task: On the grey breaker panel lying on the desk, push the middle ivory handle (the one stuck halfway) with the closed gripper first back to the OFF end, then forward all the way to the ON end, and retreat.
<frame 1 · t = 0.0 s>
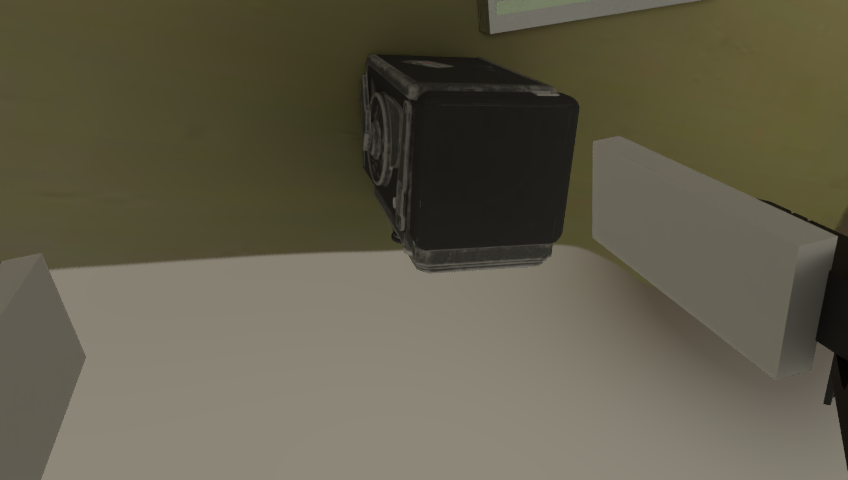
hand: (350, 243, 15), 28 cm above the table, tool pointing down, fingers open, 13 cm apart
camera: (417, 129, 44), on the table
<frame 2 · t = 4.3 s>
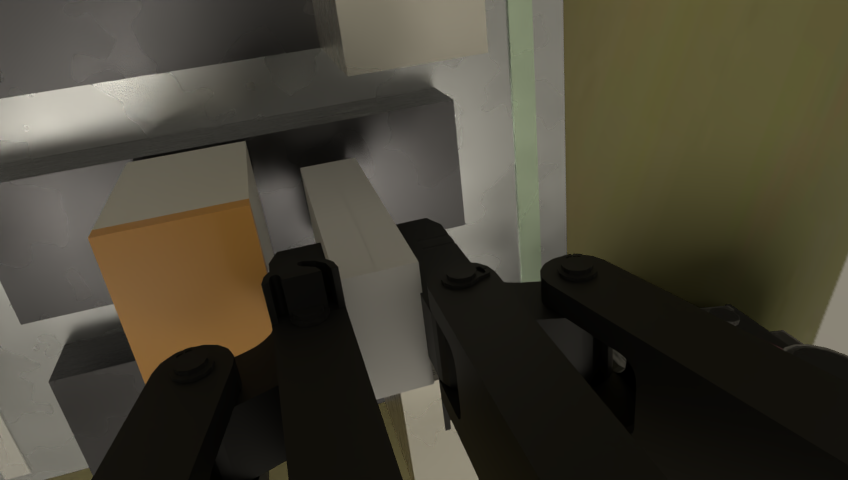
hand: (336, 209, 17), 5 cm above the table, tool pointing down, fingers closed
panel: (240, 167, 21), on the table
camera: (659, 366, 31), on the table
tripped breaker: (203, 258, 15), point 7 cm above the table, slide at -0.9 cm, touching gripper
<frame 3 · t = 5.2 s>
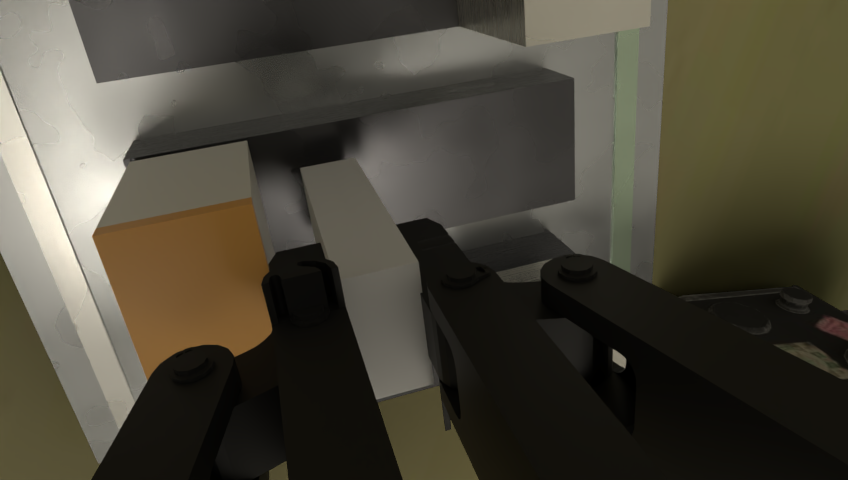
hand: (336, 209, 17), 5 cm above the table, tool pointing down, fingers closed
panel: (352, 146, 22), on the table
camera: (724, 346, 32), on the table
tripped breaker: (205, 257, 15), point 7 cm above the table, slide at -4.8 cm, touching gripper
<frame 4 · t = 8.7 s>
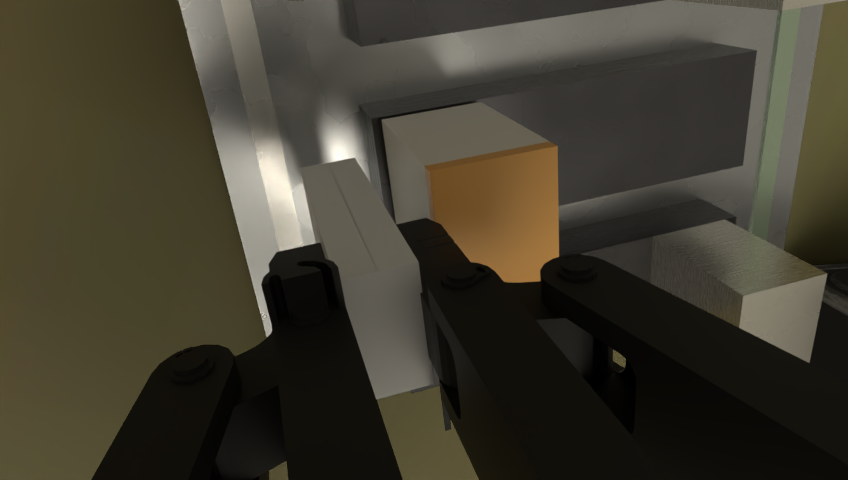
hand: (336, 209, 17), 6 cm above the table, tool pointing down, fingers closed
panel: (525, 117, 24), on the table
camera: (828, 318, 33), on the table
tripped breaker: (465, 203, 17), point 7 cm above the table, slide at -4.8 cm, touching gripper
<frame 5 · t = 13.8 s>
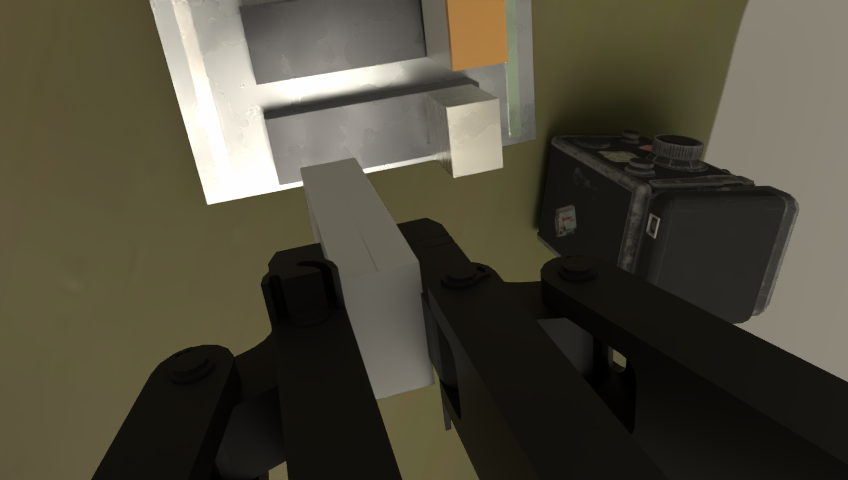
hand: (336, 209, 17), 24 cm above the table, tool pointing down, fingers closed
panel: (353, 23, 39), on the table
camera: (597, 180, 48), on the table
tripped breaker: (462, 22, 34), point 7 cm above the table, slide at 4.8 cm
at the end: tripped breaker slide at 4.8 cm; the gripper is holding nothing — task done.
